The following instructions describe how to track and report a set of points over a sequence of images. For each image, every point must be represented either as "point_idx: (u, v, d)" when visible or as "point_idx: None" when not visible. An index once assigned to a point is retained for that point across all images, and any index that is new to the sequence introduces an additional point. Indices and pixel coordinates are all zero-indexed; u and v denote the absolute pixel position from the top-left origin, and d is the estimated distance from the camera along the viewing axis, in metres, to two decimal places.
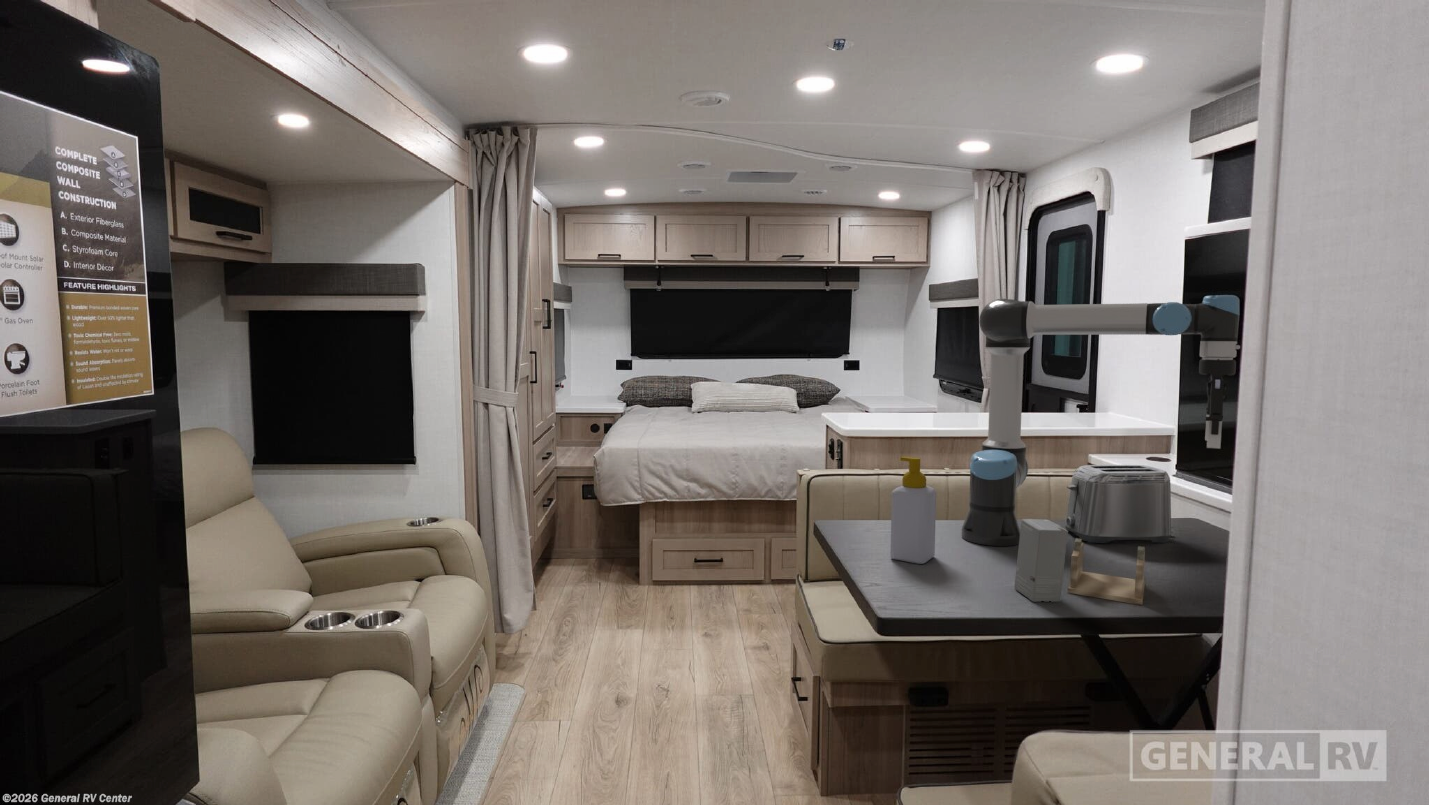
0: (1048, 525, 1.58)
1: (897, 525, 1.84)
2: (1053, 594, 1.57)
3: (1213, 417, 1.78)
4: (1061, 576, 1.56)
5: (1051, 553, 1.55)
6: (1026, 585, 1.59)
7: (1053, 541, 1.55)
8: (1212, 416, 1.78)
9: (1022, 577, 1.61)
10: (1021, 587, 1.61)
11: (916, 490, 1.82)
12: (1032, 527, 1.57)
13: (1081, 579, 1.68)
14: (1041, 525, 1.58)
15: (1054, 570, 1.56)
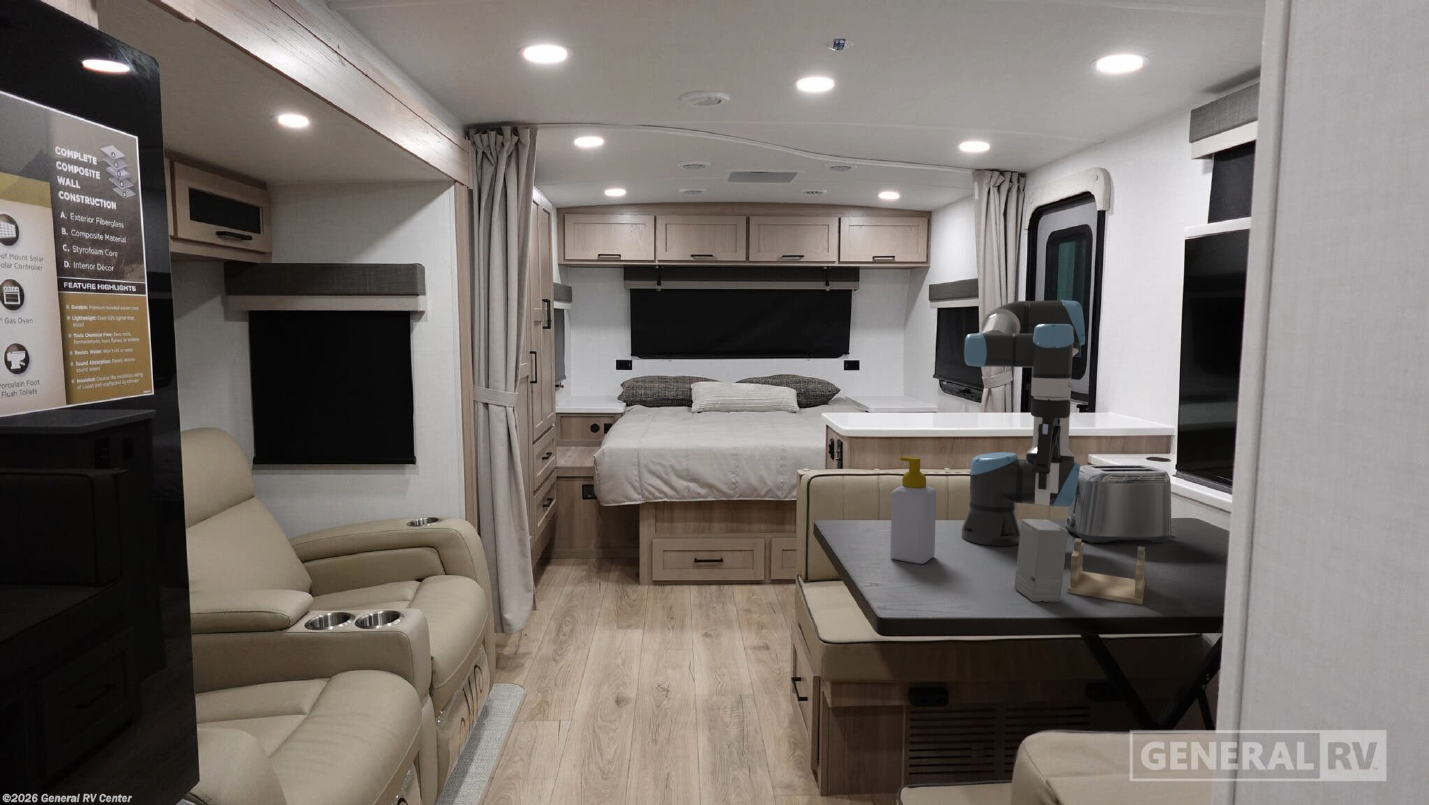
0: (1048, 525, 1.58)
1: (897, 525, 1.84)
2: (1053, 594, 1.57)
3: (1038, 469, 1.50)
4: (1061, 576, 1.56)
5: (1051, 553, 1.55)
6: (1026, 585, 1.59)
7: (1053, 541, 1.55)
8: (1037, 468, 1.50)
9: (1022, 577, 1.61)
10: (1021, 587, 1.61)
11: (916, 490, 1.82)
12: (1032, 527, 1.57)
13: (1081, 579, 1.68)
14: (1041, 525, 1.58)
15: (1054, 570, 1.56)
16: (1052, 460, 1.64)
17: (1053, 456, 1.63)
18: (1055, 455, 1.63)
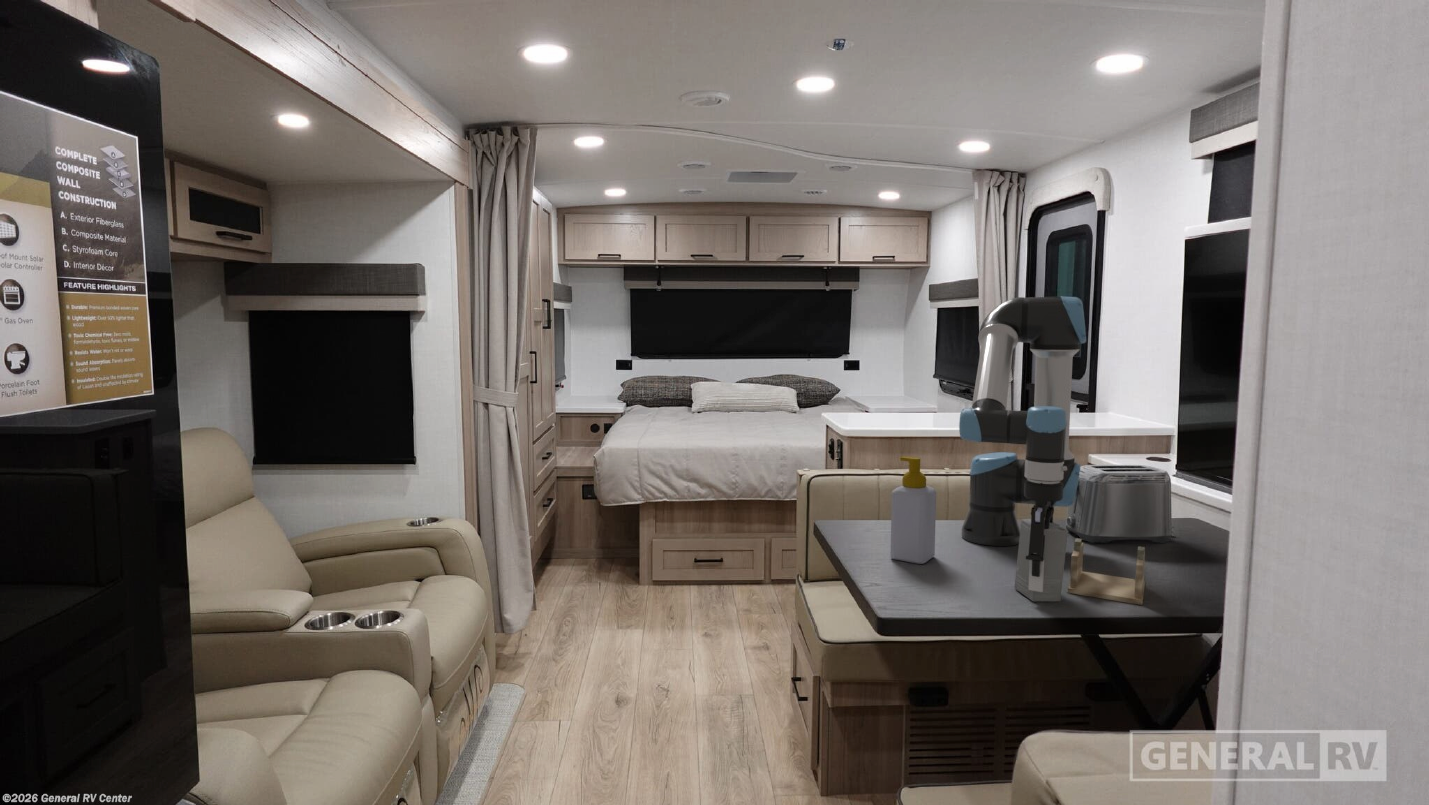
0: None
1: (897, 525, 1.84)
2: (1053, 594, 1.57)
3: (1031, 558, 1.52)
4: (1061, 575, 1.56)
5: (1051, 553, 1.55)
6: (1026, 585, 1.59)
7: (1053, 541, 1.55)
8: (1030, 556, 1.53)
9: (1022, 577, 1.61)
10: (1021, 587, 1.61)
11: (916, 490, 1.82)
12: None
13: (1081, 579, 1.68)
14: None
15: (1054, 570, 1.56)
16: None
17: None
18: None
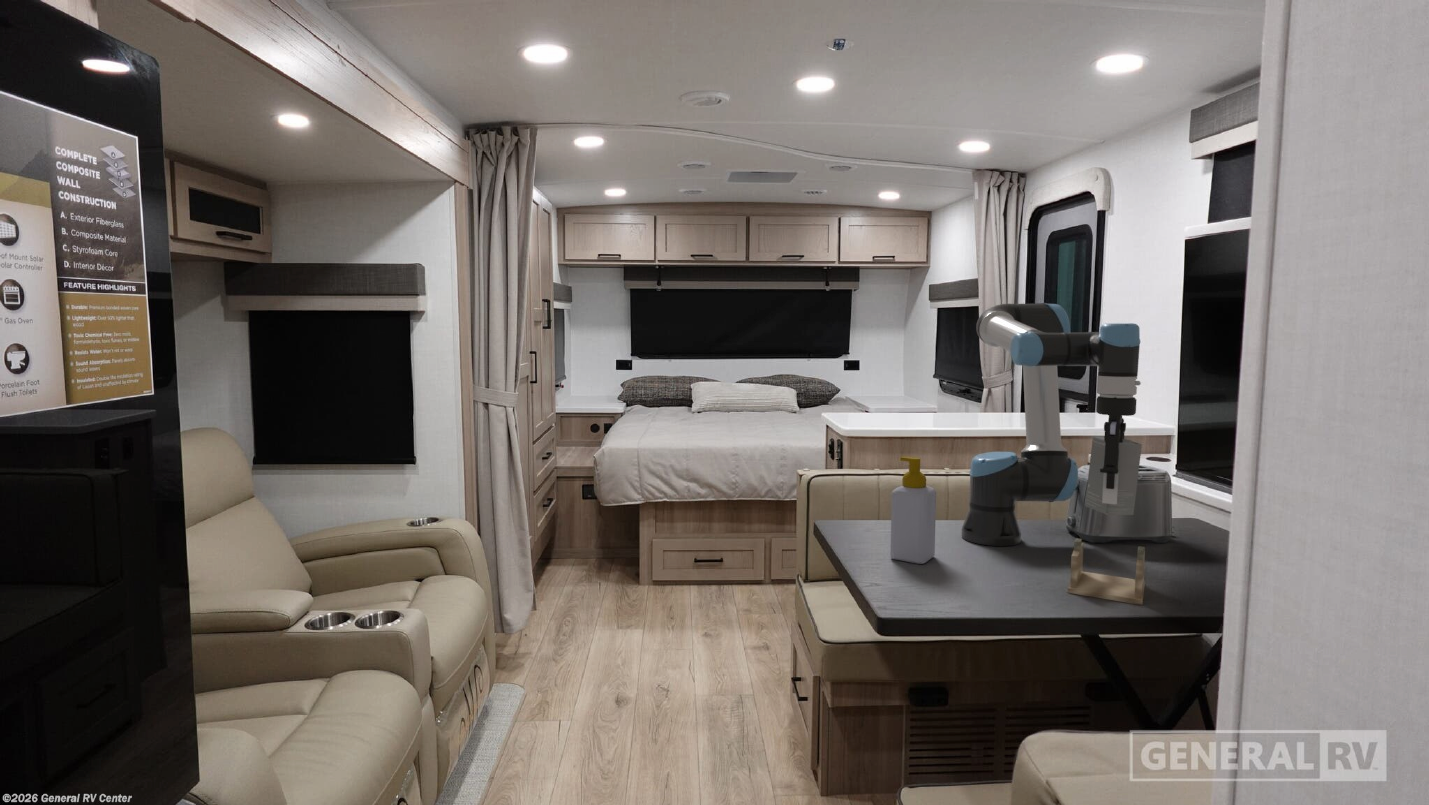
0: None
1: (897, 525, 1.84)
2: (1126, 507, 1.59)
3: (1107, 469, 1.55)
4: (1135, 489, 1.58)
5: (1125, 466, 1.58)
6: (1099, 500, 1.61)
7: (1127, 454, 1.57)
8: (1106, 468, 1.55)
9: (1094, 493, 1.63)
10: (1093, 503, 1.63)
11: (916, 490, 1.82)
12: None
13: (1081, 579, 1.68)
14: None
15: (1128, 483, 1.58)
16: None
17: None
18: None
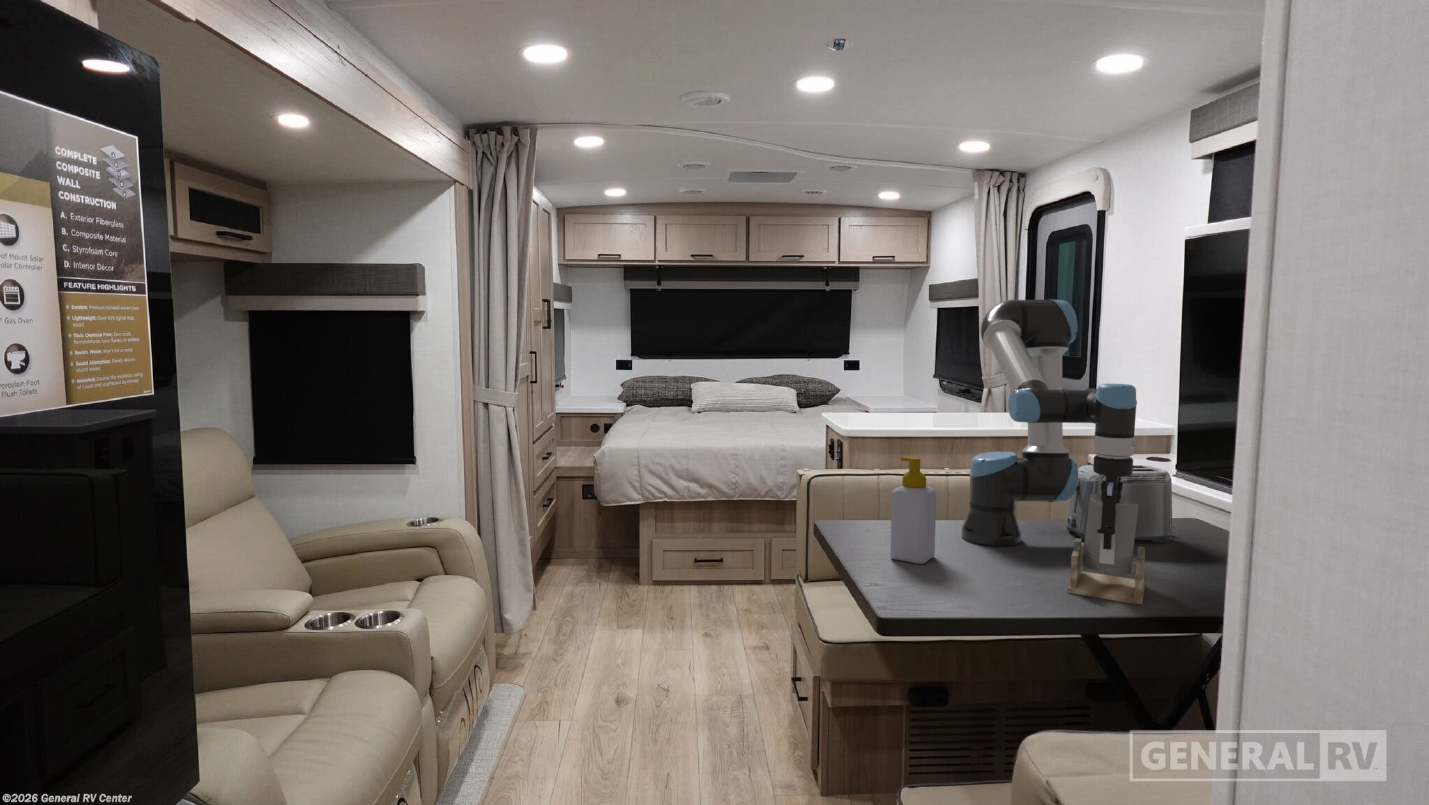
0: None
1: (897, 525, 1.84)
2: (1123, 567, 1.60)
3: (1104, 531, 1.56)
4: (1132, 549, 1.60)
5: (1122, 527, 1.59)
6: (1096, 559, 1.62)
7: (1124, 515, 1.59)
8: (1103, 529, 1.56)
9: (1092, 551, 1.64)
10: (1090, 561, 1.64)
11: (916, 490, 1.82)
12: None
13: (1081, 579, 1.68)
14: None
15: (1125, 543, 1.59)
16: None
17: None
18: None
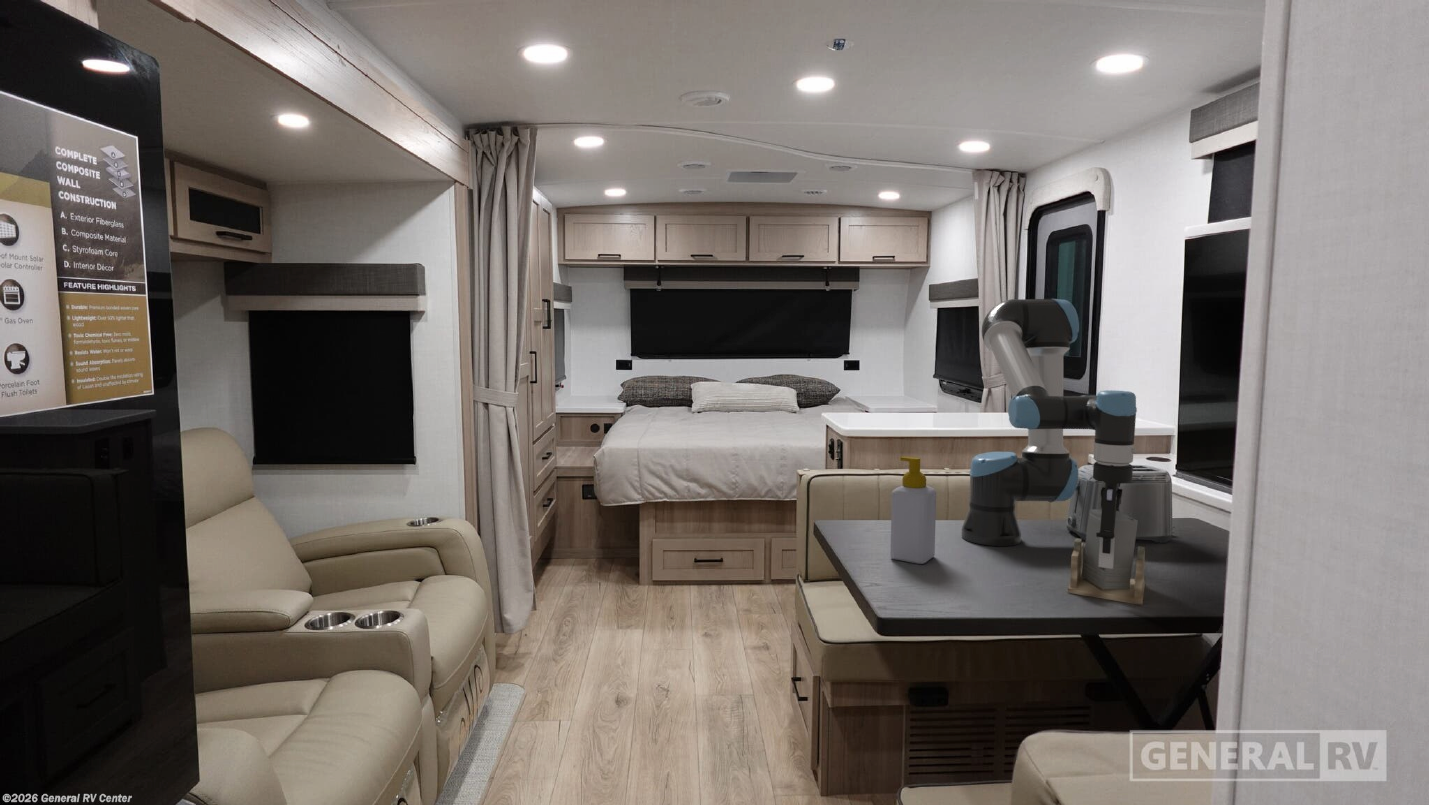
0: (1117, 515, 1.62)
1: (897, 525, 1.84)
2: (1122, 582, 1.61)
3: (1103, 535, 1.55)
4: (1131, 564, 1.60)
5: (1121, 542, 1.59)
6: (1095, 574, 1.63)
7: (1123, 531, 1.59)
8: (1102, 533, 1.55)
9: (1091, 566, 1.65)
10: (1089, 576, 1.65)
11: (916, 490, 1.82)
12: None
13: (1081, 579, 1.68)
14: None
15: (1123, 559, 1.60)
16: None
17: None
18: None
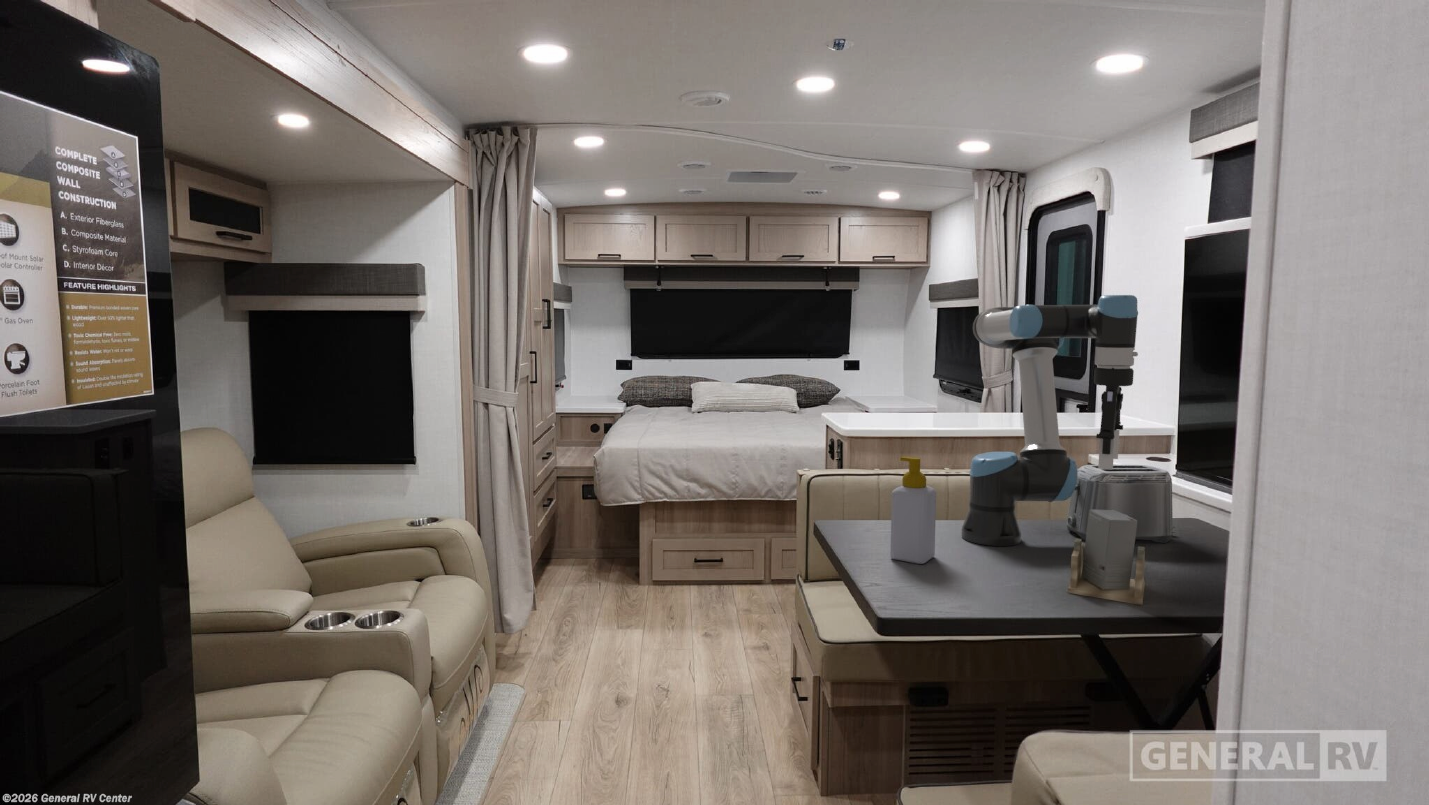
0: (1116, 515, 1.62)
1: (897, 525, 1.84)
2: (1122, 582, 1.61)
3: (1103, 435, 1.56)
4: (1131, 564, 1.60)
5: (1121, 542, 1.59)
6: (1095, 574, 1.63)
7: (1123, 530, 1.59)
8: (1102, 433, 1.56)
9: (1091, 566, 1.65)
10: (1089, 576, 1.65)
11: (916, 490, 1.82)
12: (1101, 517, 1.61)
13: (1081, 579, 1.68)
14: (1110, 515, 1.62)
15: (1123, 559, 1.60)
16: None
17: (1114, 423, 1.69)
18: (1116, 422, 1.69)
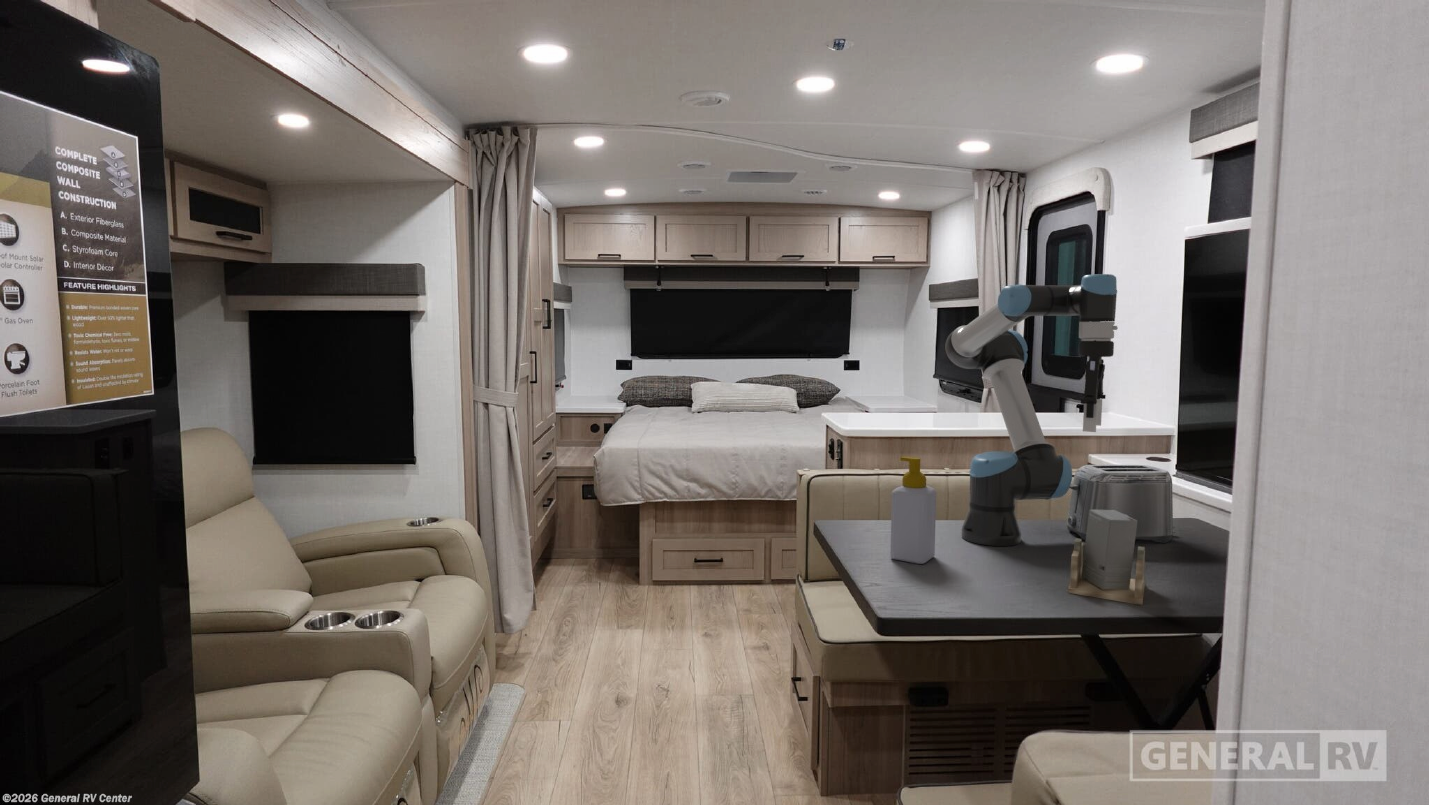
0: (1116, 515, 1.62)
1: (897, 525, 1.84)
2: (1122, 582, 1.61)
3: (1086, 399, 1.72)
4: (1131, 564, 1.60)
5: (1121, 542, 1.59)
6: (1095, 574, 1.63)
7: (1123, 531, 1.59)
8: (1086, 398, 1.72)
9: (1091, 566, 1.65)
10: (1089, 576, 1.65)
11: (916, 490, 1.82)
12: (1101, 517, 1.61)
13: (1081, 579, 1.68)
14: (1110, 515, 1.62)
15: (1123, 559, 1.60)
16: (1096, 396, 1.87)
17: (1097, 393, 1.86)
18: (1099, 392, 1.85)
